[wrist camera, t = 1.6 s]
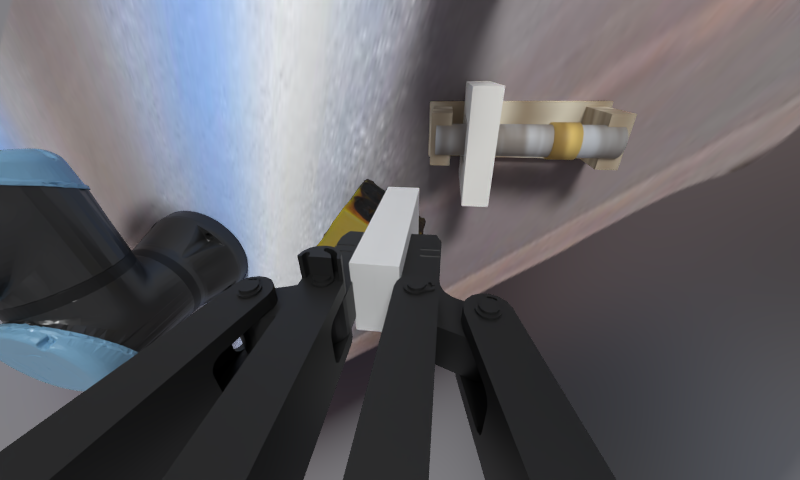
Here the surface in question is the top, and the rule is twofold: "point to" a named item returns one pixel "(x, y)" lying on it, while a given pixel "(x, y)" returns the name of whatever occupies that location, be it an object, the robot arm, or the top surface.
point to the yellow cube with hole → (358, 214)
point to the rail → (536, 118)
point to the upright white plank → (479, 141)
